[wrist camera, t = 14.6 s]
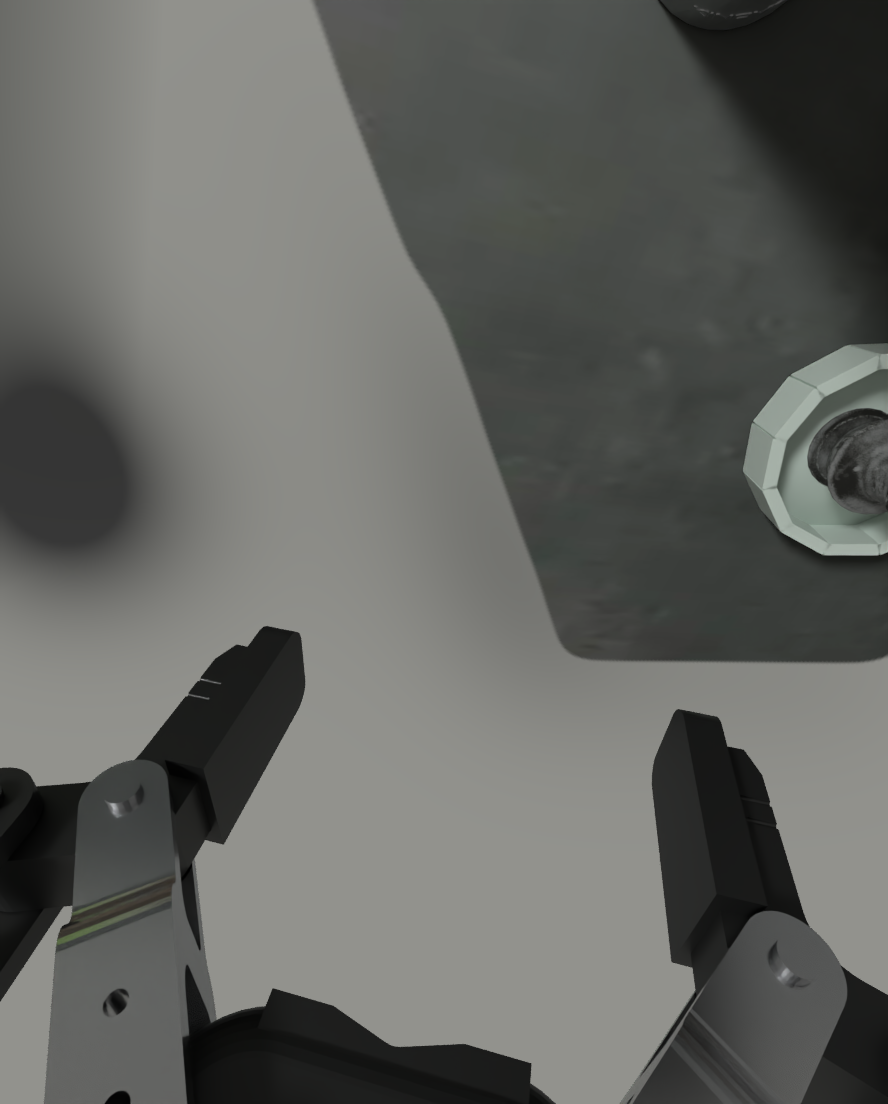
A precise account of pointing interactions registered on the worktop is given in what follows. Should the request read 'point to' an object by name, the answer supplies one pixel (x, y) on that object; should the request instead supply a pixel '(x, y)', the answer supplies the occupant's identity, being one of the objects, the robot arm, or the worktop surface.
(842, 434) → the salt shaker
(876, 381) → the bowl
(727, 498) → the worktop surface
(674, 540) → the worktop surface
